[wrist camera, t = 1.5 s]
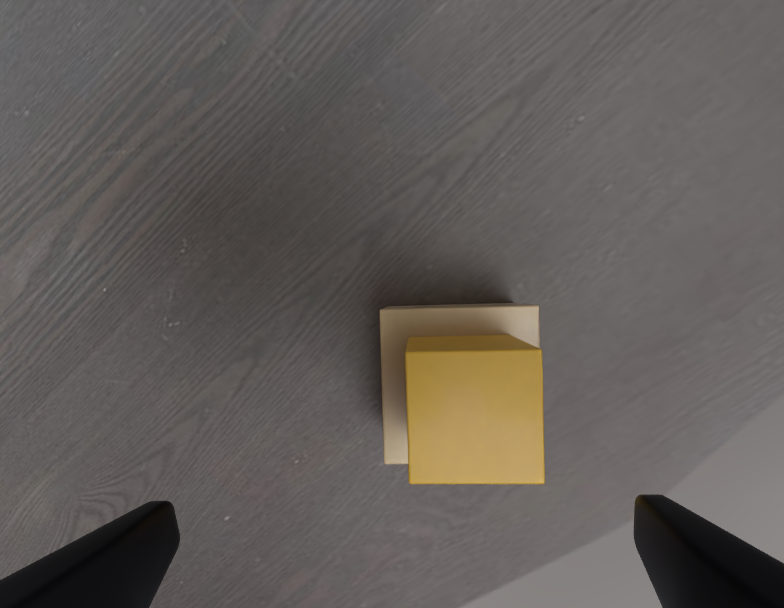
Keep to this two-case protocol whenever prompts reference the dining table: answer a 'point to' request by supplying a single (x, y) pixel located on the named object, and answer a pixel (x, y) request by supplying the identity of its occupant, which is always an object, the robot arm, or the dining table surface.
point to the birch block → (430, 323)
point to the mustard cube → (474, 410)
